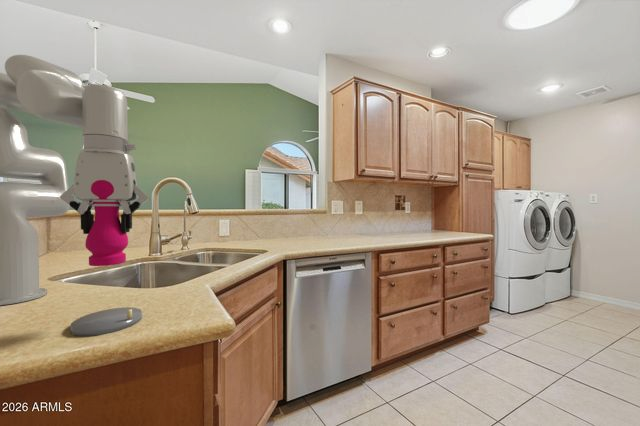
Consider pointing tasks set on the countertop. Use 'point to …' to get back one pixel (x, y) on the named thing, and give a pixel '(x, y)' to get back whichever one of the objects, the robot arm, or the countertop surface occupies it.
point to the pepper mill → (106, 228)
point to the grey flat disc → (106, 321)
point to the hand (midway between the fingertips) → (107, 232)
